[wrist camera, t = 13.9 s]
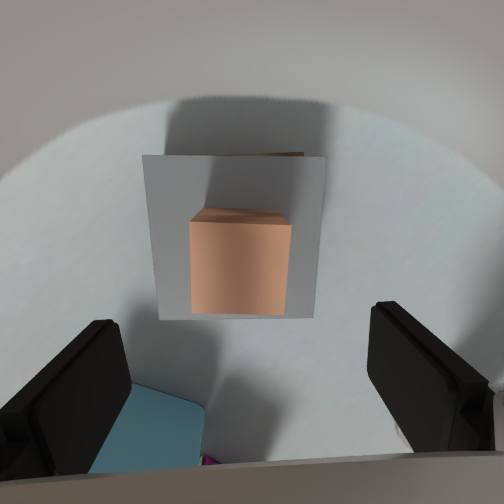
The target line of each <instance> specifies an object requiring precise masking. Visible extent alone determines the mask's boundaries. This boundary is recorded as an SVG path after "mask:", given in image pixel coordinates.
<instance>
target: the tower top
mask: <svg viewBox="0 0 504 504" xmlns="http://www.w3.org/2000/svg"><path fill="white" fill-rule="evenodd" d="M142 161H143V171H144V180H145V190H146V199H147V209H148V218H149V227H150V237H151V246H152V256H153V265H154V275H155V284H156V293H157V303H158V312H159V320H206V319H283V318H313V316H314V304H315V292H316V280H317V268H318V256H319V244H320V232H321V220H322V208H323V196H324V185H325V173H326V161H327V157H306V156H201V155H142ZM203 207H209V208H236V209H262V210H279V211H280V212H281V213H282V214H283V216H284V217H285V218H286V219H287V220H288V222H289V223H290V224H291V225H292V228H291V240H290V251H289V262H288V274H287V285H286V296H285V308H284V315H252V314H203V313H192V306H191V270H190V235H189V221H190V220H191V219H192V218H193V217H194V216H195V215H196V214H197V213H198V212H199V211H200V210H201V209H202V208H203Z"/></svg>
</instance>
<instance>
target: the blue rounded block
mask: <svg viewBox="0 0 504 504" xmlns="http://www.w3.org/2000/svg"><path fill="white" fill-rule="evenodd" d="M205 417H206V414H205V411H204V409H203V408H202V407H201V406H200V405H199V404H197V403H194V402H190V401H187V400H184V399H181V398H178V397H175V396H172V395H169V394H166V393H162V392H159V391H156V390H153V389H150V388H147V387H144V386H141V385H138V384H132V389H131V393H130V395H129V397H128V399H127V401H126V402H125V404H124V406H123V408H122V410H121V412H120V414H119V416H118V418H117V419H116V421H115V423H114V425H113V427H112V429H111V431H110V433H109V435H108V436H107V438H106V440H105V442H104V444H103V446H102V448H101V450H100V451H99V453H98V455H97V457H96V459H95V461H94V463H93V465H92V467H91V468H90V470H89V472H88V474H90V473H104V472H118V471H131V470H145V469H159V468H173V467H188V466H198V464H199V458H200V451H201V444H202V438H203V431H204V424H205Z"/></svg>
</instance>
